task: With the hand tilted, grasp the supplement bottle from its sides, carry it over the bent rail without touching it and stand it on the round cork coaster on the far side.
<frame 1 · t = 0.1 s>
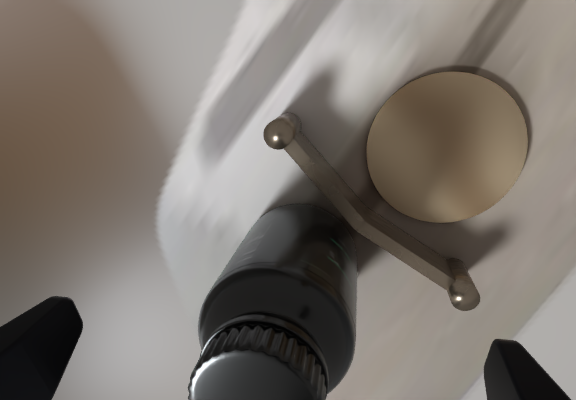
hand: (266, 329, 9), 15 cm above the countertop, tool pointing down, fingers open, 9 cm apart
cork coaster: (442, 150, 22), on the countertop
bent rail: (366, 205, 24), on the countertop
supplement bottle: (301, 252, 25), on the countertop
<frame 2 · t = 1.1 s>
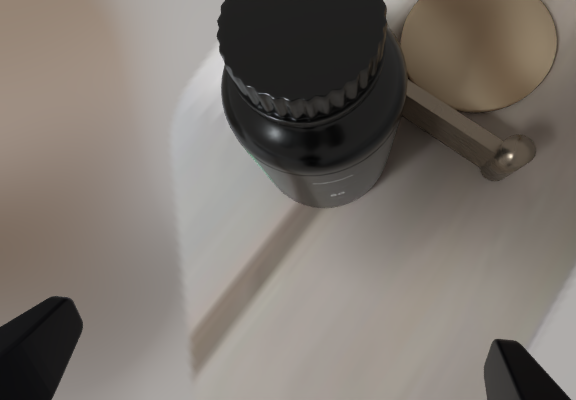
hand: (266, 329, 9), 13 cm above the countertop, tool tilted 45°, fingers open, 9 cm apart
cork coaster: (474, 44, 23), on the countertop
bent rail: (398, 96, 23), on the countertop
supplement bottle: (325, 150, 23), on the countertop
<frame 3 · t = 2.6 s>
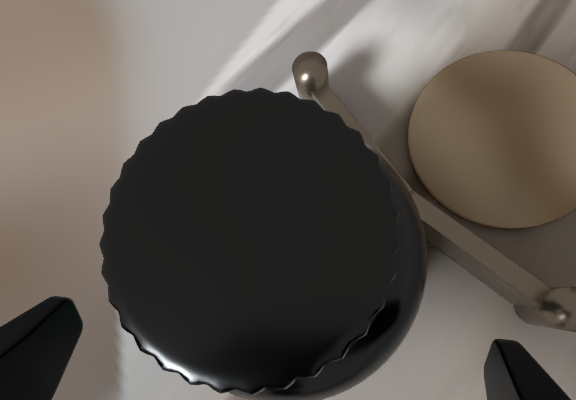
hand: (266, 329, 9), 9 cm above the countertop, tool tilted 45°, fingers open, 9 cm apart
cork coaster: (502, 138, 18), on the countertop
bent rail: (406, 203, 18), on the countertop
supplement bottle: (312, 270, 18), on the countertop
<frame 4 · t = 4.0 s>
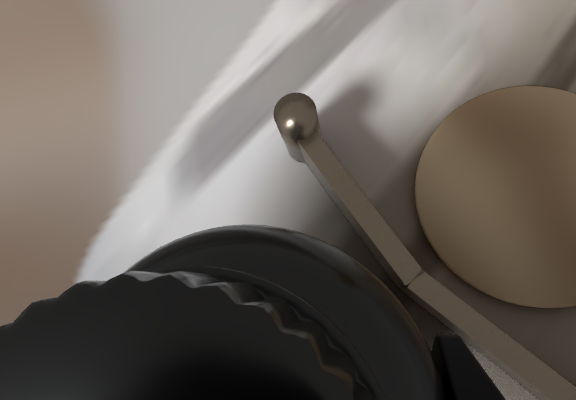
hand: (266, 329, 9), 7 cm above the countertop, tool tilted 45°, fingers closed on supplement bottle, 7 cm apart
cork coaster: (529, 193, 15), on the countertop
bent rail: (413, 271, 15), on the countertop
supplement bottle: (299, 351, 15), on the countertop, touching gripper
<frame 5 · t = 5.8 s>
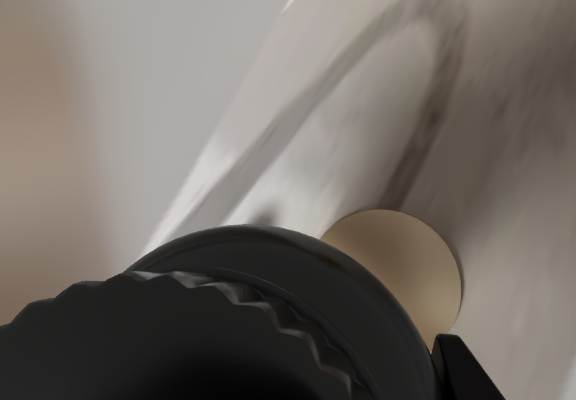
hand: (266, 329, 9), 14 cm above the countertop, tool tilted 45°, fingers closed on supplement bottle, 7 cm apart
cork coaster: (380, 284, 22), on the countertop
supplement bottle: (299, 351, 15), point 7 cm above the countertop, touching gripper
when the fingers open (8 cm above the countertop, at t = 8.0 s): supplement bottle stays where it is, resting on cork coaster.
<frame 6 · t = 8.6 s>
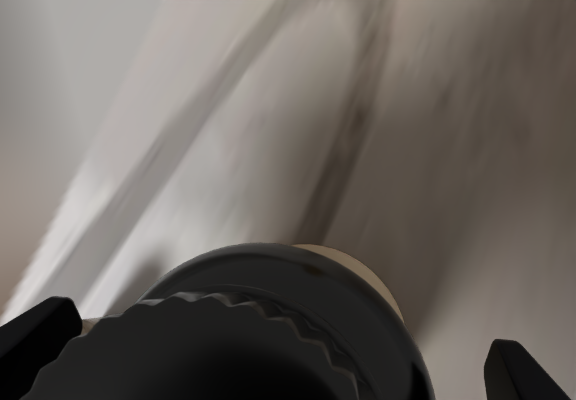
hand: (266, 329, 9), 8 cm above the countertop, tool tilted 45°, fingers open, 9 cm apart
cork coaster: (304, 345, 16), on the countertop
supplement bottle: (302, 353, 16), resting on cork coaster
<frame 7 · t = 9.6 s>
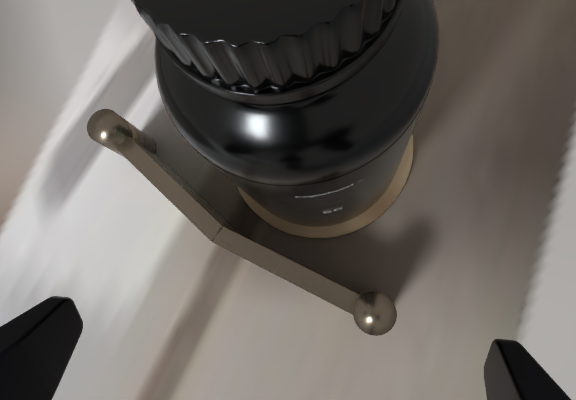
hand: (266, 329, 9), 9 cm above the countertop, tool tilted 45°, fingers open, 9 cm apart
cork coaster: (319, 148, 18), on the countertop
bent rail: (240, 232, 18), on the countertop
supplement bottle: (318, 152, 18), resting on cork coaster
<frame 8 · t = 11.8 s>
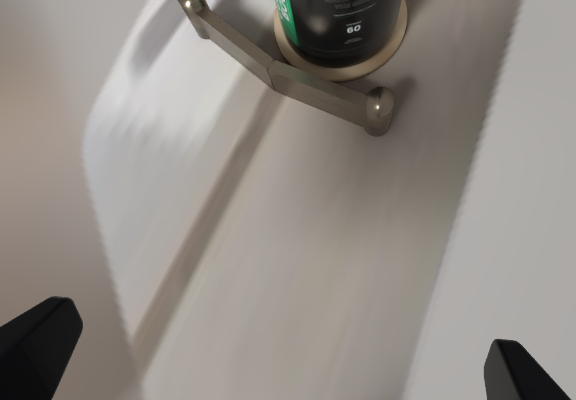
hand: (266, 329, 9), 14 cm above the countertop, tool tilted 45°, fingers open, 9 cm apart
cork coaster: (339, 22, 25), on the countertop
bent rail: (282, 80, 25), on the countertop
supplement bottle: (338, 23, 25), resting on cork coaster
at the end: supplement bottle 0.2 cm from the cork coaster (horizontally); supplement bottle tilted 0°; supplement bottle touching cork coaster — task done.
